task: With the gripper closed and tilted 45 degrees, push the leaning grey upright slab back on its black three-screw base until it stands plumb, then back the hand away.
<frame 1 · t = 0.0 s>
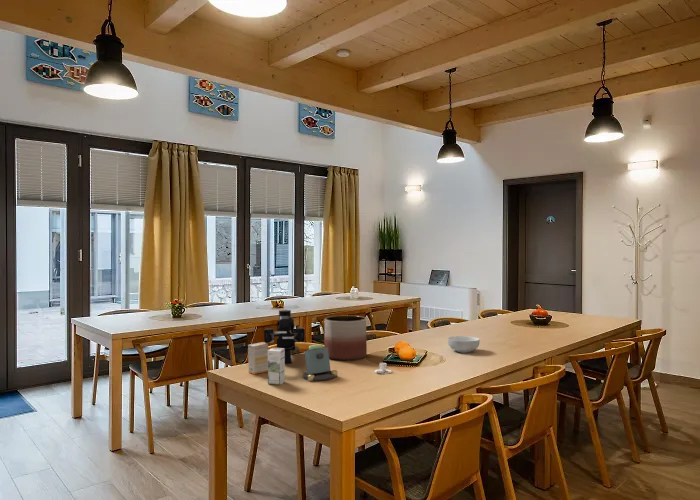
hand: (284, 338, 226), 17 cm above the table, tool horizontal, fingers open, 9 cm apart
white lobed piece: (376, 372, 232), on the table
planter: (345, 356, 264), on the table
syrup box: (276, 383, 214), on the table
grey upright slab: (318, 358, 223), point 8 cm above the table, hinge at 14.0°
cereal bowl: (463, 351, 275), on the table
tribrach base: (319, 376, 223), on the table
supplement box: (258, 372, 232), on the table
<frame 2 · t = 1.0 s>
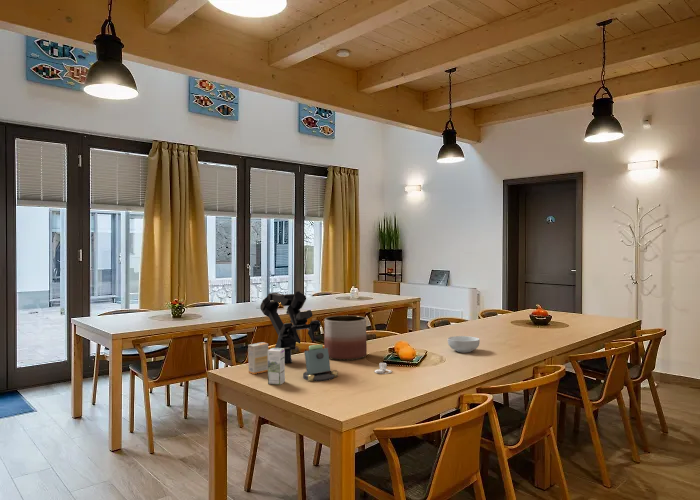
hand: (306, 342, 232), 14 cm above the table, tool tilted 45°, fingers open, 7 cm apart
nothing on the table moved.
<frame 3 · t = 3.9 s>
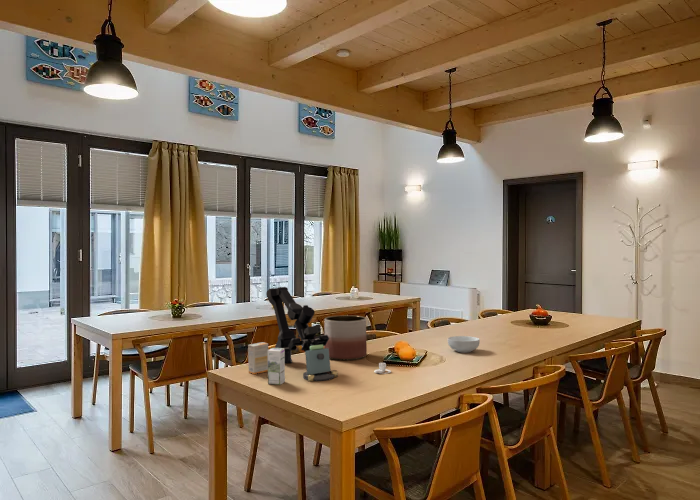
hand: (315, 357, 226), 8 cm above the table, tool tilted 45°, fingers closed, pressing on grey upright slab
grey upright slab: (318, 358, 223), point 8 cm above the table, hinge at 10.1°, touching gripper
everything else where it was.
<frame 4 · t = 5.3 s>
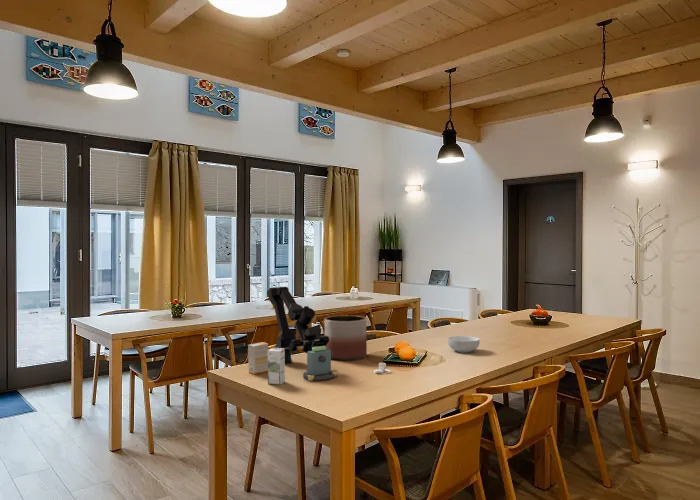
hand: (315, 358, 225), 7 cm above the table, tool tilted 45°, fingers closed
grey upright slab: (320, 360, 222), point 8 cm above the table, hinge at -1.3°
everything else where it was.
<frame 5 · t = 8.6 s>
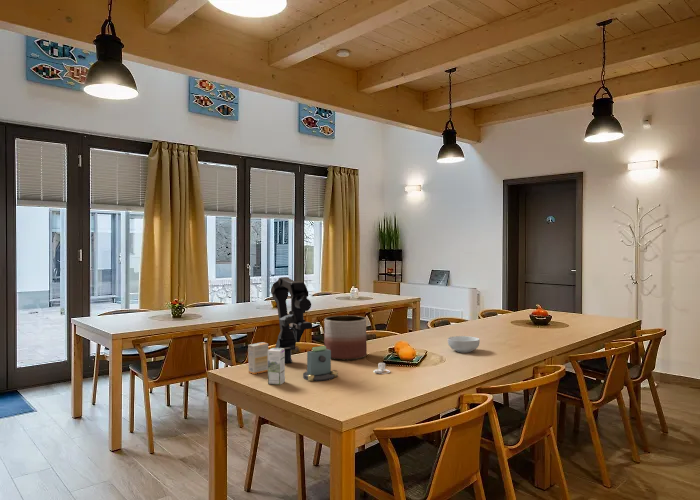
hand: (297, 342, 236), 13 cm above the table, tool pointing down, fingers closed
nothing on the table moved.
at the end: grey upright slab at -1° (first picture: +14°); syrup box moved 0.2 cm from its start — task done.
